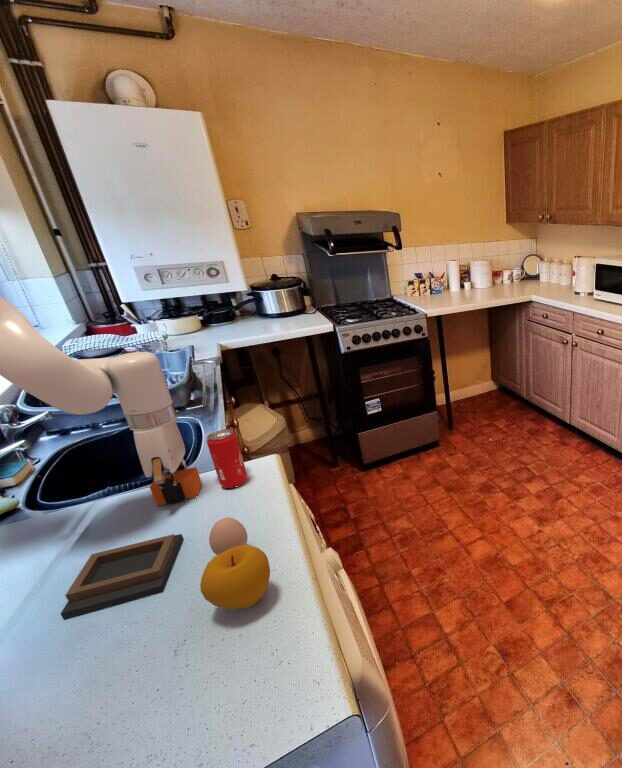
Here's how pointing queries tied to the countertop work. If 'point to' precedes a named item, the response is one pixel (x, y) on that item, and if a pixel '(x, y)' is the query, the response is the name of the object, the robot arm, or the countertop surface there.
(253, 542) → the countertop surface
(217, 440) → the beverage can
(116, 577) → the brown wooden tray
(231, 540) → the egg
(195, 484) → the orange block
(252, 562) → the apple
